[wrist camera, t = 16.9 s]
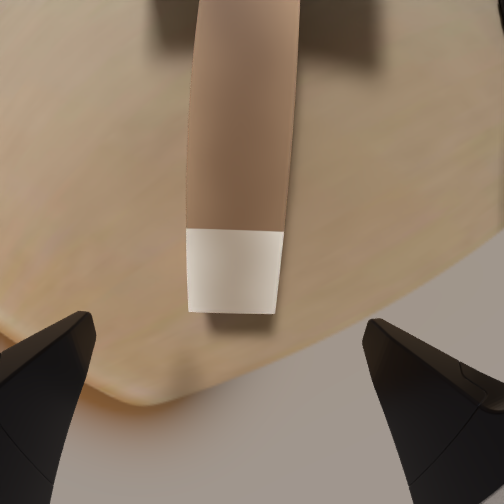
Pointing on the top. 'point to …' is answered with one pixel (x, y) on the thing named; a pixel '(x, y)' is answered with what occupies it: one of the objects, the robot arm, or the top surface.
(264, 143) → the plug rod
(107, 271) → the top surface
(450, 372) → the robot arm
